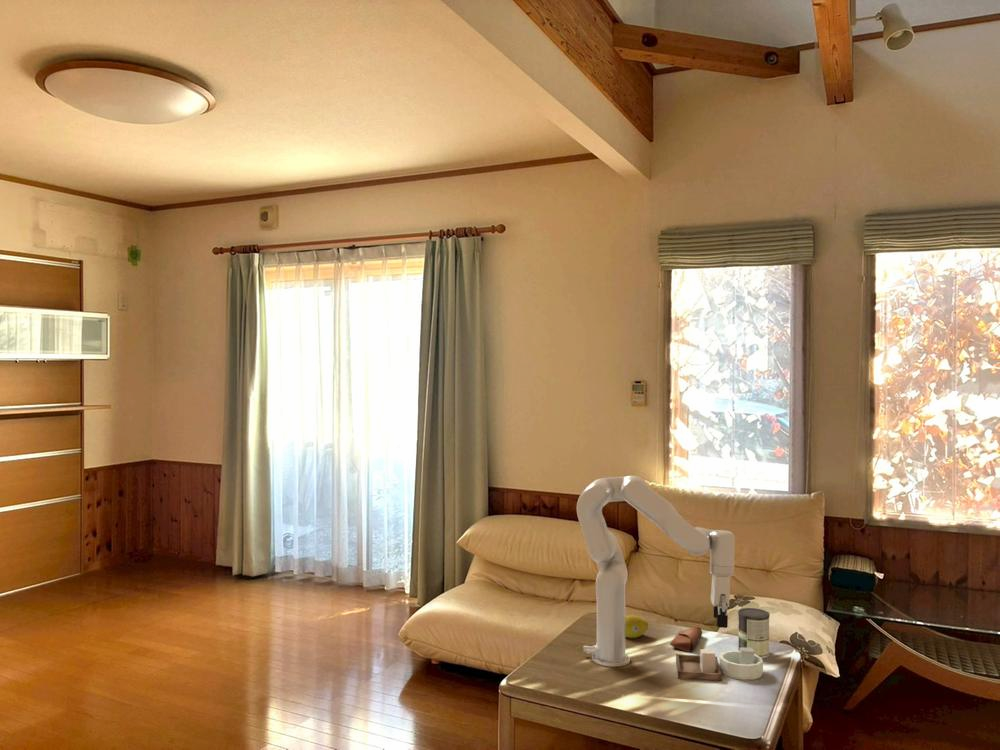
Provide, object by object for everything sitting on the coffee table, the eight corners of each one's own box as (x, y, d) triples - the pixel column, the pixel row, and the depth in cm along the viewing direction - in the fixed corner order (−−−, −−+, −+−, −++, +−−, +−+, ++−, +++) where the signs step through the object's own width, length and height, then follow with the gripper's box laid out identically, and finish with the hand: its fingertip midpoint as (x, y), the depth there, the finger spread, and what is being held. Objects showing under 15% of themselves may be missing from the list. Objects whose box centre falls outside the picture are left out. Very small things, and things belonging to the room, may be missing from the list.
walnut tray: (678, 678, 237) (678, 671, 237) (675, 660, 252) (675, 653, 252) (721, 681, 234) (721, 674, 234) (716, 663, 250) (716, 656, 250)
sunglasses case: (678, 629, 279) (689, 617, 277) (693, 643, 277) (705, 631, 275) (668, 644, 262) (680, 631, 261) (684, 659, 260) (696, 646, 259)
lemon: (617, 640, 272) (617, 618, 272) (618, 633, 280) (618, 611, 280) (648, 642, 270) (648, 620, 270) (648, 635, 278) (648, 613, 278)
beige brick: (702, 672, 241) (702, 653, 241) (700, 667, 245) (700, 649, 245) (715, 672, 241) (715, 653, 241) (712, 668, 244) (712, 649, 245)
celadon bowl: (722, 678, 237) (722, 663, 237) (718, 663, 250) (718, 649, 250) (765, 681, 235) (765, 666, 235) (759, 666, 247) (759, 652, 248)
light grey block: (741, 669, 242) (741, 650, 242) (739, 665, 246) (739, 647, 246) (754, 670, 241) (754, 651, 242) (752, 666, 245) (752, 648, 245)
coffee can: (732, 653, 259) (732, 612, 259) (746, 646, 267) (746, 606, 267) (761, 661, 252) (761, 618, 252) (774, 653, 259) (774, 612, 259)
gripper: (707, 562, 253) (705, 613, 253) (712, 575, 236) (711, 630, 236) (730, 563, 251) (729, 615, 251) (737, 577, 234) (736, 632, 234)
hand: (720, 622), depth 243 cm, fingers open, 9 cm apart
